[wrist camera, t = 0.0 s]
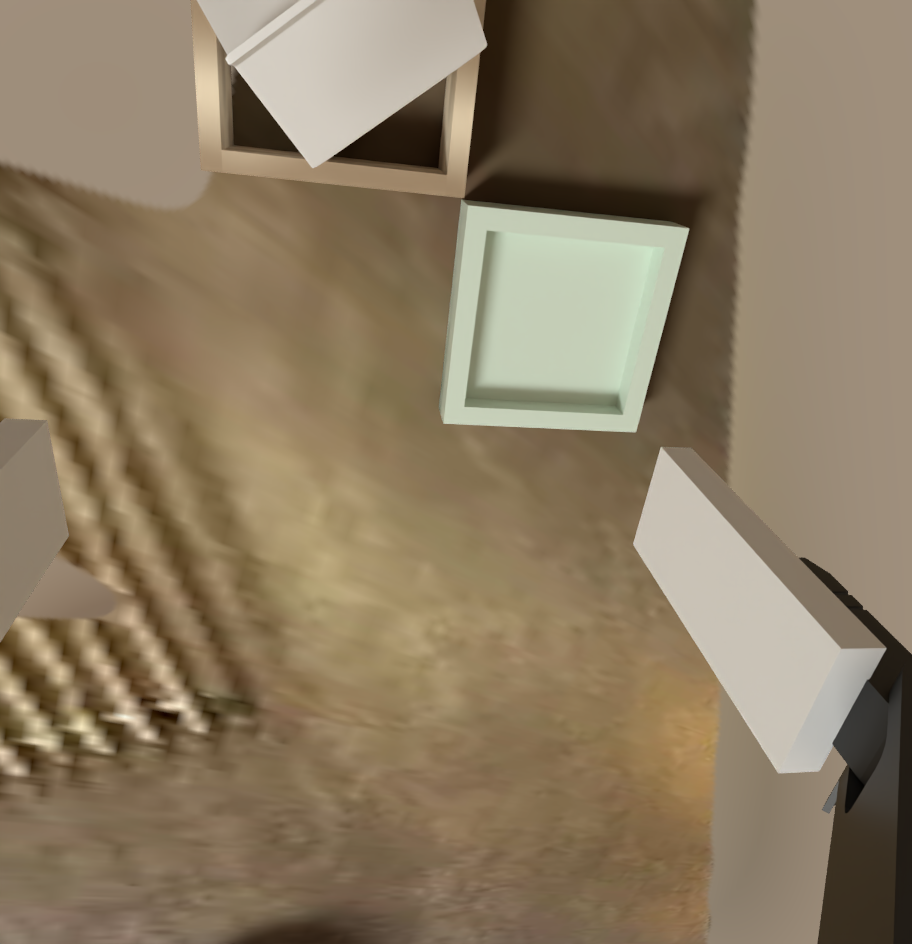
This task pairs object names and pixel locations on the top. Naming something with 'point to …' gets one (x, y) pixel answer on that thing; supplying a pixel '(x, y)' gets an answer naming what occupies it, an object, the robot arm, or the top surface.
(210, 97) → the holder
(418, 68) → the milk carton
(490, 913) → the top surface
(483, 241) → the tray
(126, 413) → the top surface
